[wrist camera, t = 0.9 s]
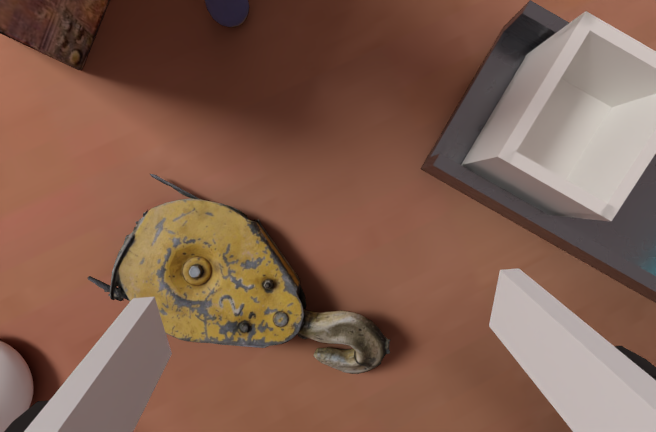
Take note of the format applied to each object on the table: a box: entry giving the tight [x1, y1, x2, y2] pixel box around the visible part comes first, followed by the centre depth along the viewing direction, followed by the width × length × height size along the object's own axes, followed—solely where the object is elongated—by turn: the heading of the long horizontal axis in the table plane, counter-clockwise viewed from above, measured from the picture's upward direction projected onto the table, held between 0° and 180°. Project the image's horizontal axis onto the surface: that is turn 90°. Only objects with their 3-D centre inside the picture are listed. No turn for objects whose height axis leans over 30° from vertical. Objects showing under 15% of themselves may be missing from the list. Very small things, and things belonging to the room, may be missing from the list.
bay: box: [421, 1, 656, 303], centre depth 28 cm, size 30×16×6 cm, turn 61°
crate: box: [461, 11, 656, 221], centre depth 27 cm, size 10×12×7 cm
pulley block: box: [88, 174, 390, 374], centre depth 31 cm, size 14×6×30 cm
